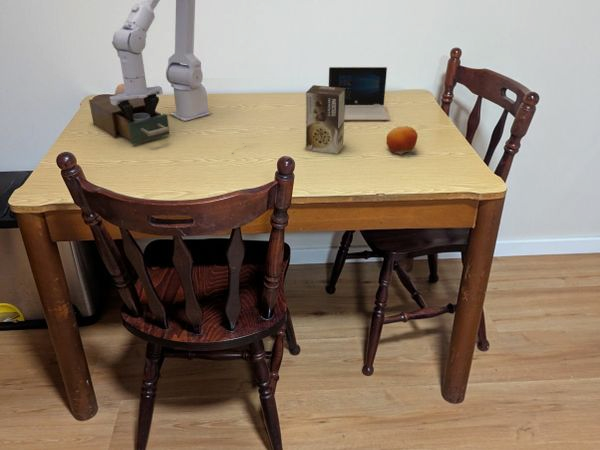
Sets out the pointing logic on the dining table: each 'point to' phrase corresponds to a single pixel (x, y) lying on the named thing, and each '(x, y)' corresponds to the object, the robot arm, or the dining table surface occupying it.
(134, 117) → the grey plastic pail
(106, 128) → the cabinet
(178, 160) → the dining table surface
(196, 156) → the dining table surface
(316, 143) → the cookie box
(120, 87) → the egg
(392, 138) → the fruit
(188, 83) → the robot arm
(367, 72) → the laptop
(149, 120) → the drawer
